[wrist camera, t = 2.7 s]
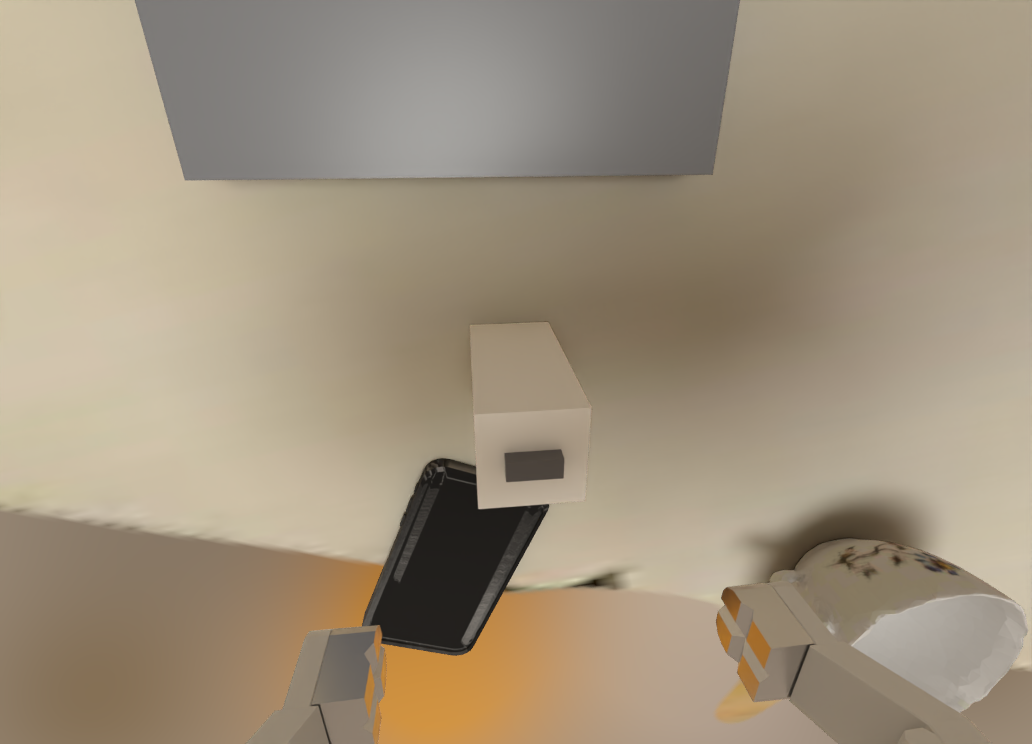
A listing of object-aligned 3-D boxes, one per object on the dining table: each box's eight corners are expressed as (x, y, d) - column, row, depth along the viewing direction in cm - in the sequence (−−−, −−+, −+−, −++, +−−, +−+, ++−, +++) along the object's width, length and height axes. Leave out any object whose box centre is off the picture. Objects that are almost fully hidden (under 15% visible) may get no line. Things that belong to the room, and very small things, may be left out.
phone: (555, 496, 28) (467, 658, 33) (552, 484, 29) (467, 643, 34) (427, 461, 26) (354, 639, 31) (428, 449, 27) (358, 624, 32)
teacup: (949, 527, 34) (1081, 629, 27) (834, 639, 38) (920, 753, 31) (795, 463, 30) (901, 563, 23) (685, 596, 34) (744, 716, 27)
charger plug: (548, 321, 24) (596, 416, 15) (546, 391, 26) (588, 512, 17) (469, 324, 24) (473, 423, 15) (473, 395, 25) (478, 520, 17)
